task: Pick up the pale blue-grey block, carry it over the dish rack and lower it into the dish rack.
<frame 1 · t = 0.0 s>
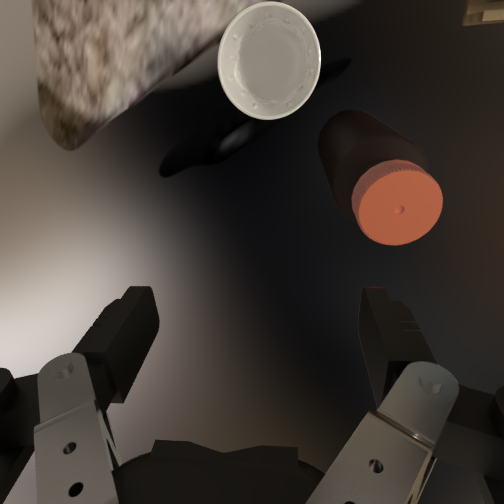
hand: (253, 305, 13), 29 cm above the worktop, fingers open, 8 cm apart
white cup: (273, 64, 35), on the worktop
bottle: (348, 141, 38), on the worktop
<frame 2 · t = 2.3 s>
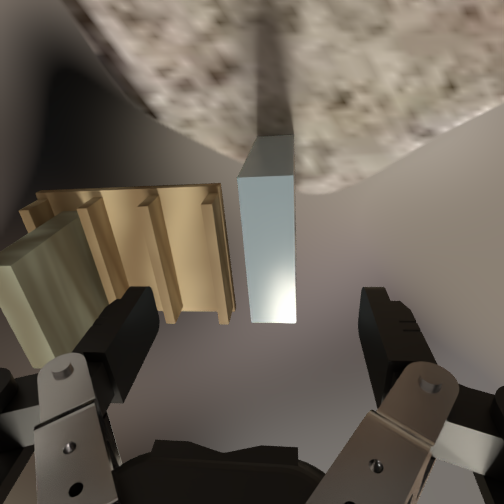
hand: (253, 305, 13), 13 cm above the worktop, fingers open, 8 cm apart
dish rack: (144, 252, 28), on the worktop
pale blue-grey block: (278, 194, 24), on the worktop
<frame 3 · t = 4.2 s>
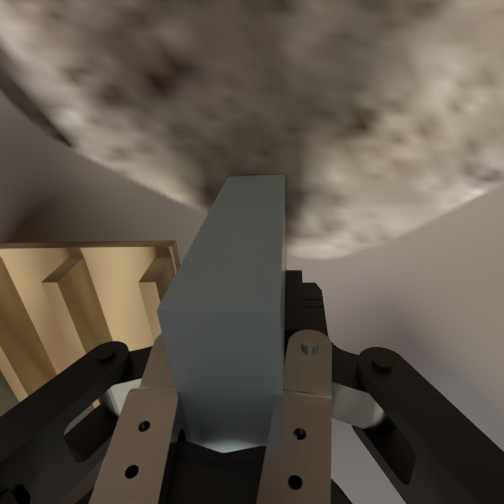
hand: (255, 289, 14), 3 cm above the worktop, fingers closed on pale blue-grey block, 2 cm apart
dish rack: (73, 327, 20), on the worktop
pale blue-grey block: (260, 258, 16), on the worktop, touching gripper
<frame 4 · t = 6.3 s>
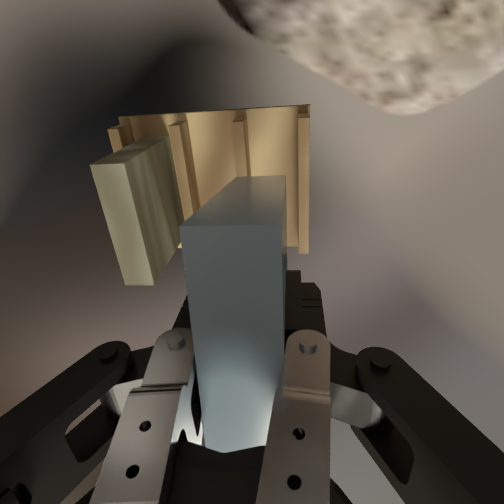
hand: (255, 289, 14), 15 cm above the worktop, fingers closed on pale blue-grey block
dish rack: (221, 183, 28), on the worktop
pale blue-grey block: (263, 254, 18), point 11 cm above the worktop, tilted 9°, touching gripper
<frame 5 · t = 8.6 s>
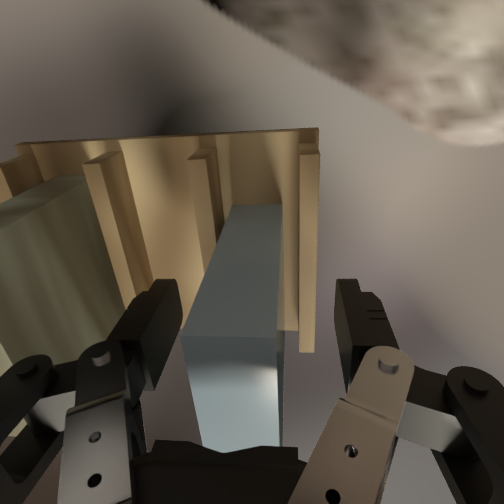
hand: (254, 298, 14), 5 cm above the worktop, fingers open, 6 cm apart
dish rack: (182, 242, 18), on the worktop
pale blue-grey block: (261, 275, 18), point 1 cm above the worktop, touching dish rack
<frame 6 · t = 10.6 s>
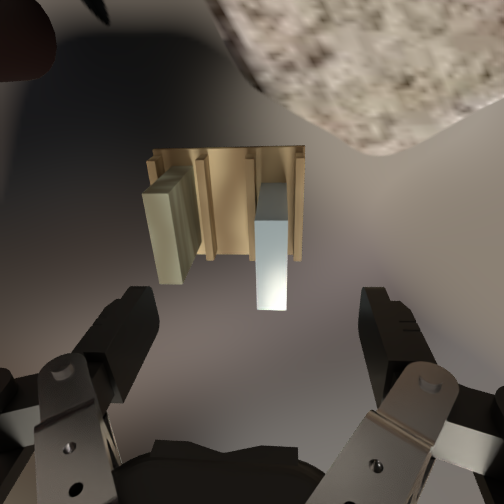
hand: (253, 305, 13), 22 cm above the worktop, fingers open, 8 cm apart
dish rack: (232, 203, 34), on the worktop
pale blue-grey block: (274, 221, 34), point 1 cm above the worktop, touching dish rack
bottle: (20, 35, 29), on the worktop
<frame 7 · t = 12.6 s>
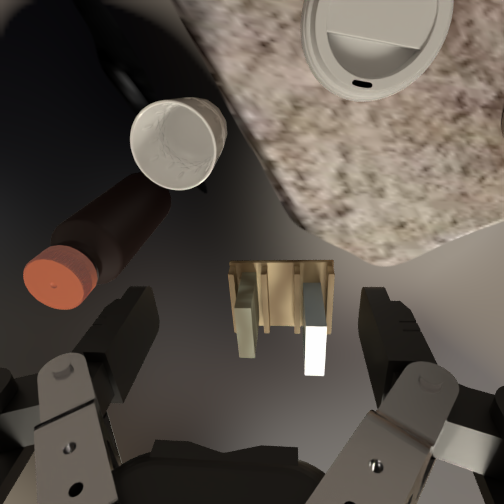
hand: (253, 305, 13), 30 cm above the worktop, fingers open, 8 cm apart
dish rack: (281, 293, 49), on the worktop
pale blue-grey block: (311, 305, 49), point 1 cm above the worktop, touching dish rack
white cup: (198, 128, 40), on the worktop
coffee cup: (345, 35, 34), on the worktop
bottle: (147, 196, 44), on the worktop
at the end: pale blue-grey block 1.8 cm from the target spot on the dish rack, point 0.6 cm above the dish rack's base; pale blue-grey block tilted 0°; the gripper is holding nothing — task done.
